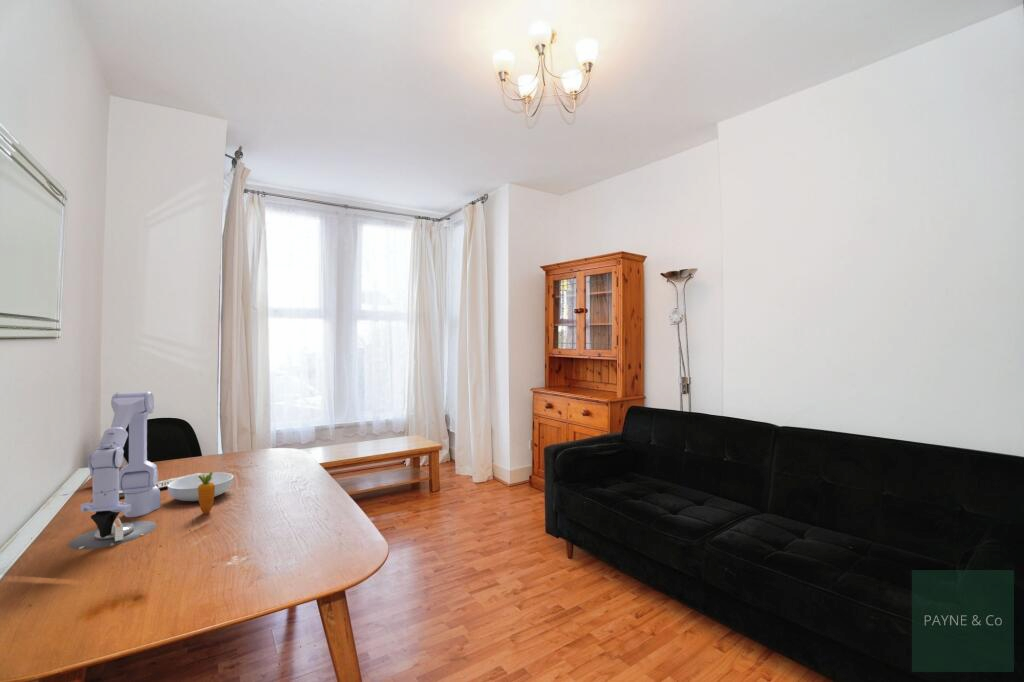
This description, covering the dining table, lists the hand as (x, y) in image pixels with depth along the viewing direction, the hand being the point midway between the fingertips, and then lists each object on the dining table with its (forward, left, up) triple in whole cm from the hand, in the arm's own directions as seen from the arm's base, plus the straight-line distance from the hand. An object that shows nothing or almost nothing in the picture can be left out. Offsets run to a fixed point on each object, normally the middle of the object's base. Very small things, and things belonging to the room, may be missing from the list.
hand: (105, 536), depth 128 cm
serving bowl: (-41, -6, -3) cm, 42 cm away
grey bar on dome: (-5, -2, -2) cm, 6 cm away
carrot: (-24, +11, -3) cm, 27 cm away
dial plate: (-6, -4, -3) cm, 8 cm away
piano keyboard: (-49, -34, -4) cm, 60 cm away
